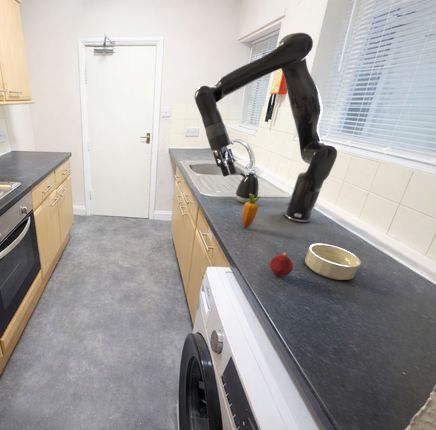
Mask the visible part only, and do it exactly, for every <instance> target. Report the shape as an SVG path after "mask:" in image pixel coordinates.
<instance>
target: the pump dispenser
mask: <svg viewBox="0 0 436 430" xmlns="http://www.w3.org/2000/svg"><path fill="white" fill-rule="evenodd" d="M239 175H240V176H241V177H243V178H241V180H240V182H239V184H238V186H237V188H236V190H235V196H236V200H237V201H238V202H240V203H242V204H245V203H246V202H250V201H249V200H248V199H250V197H249V194H252V195H254V200H255V199H256V198H257V197H258V196H259V192H260V191H259V189H260V186H259V185H260V184H259V183H260V182H259V179H258V176H257V174H256V173H254V172H248V173H247V174H245V173H243V172H240V173H239ZM252 199H253V198H252Z"/></svg>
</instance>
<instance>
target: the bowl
mask: <svg viewBox="0 0 436 430" xmlns="http://www.w3.org/2000/svg"><path fill="white" fill-rule="evenodd" d="M304 263H305V264H306V266H308V268H309V269H310V270H312V271H313V272H314V273H316V274H318V275H320V276H322V277H325V278H327V279H331V280H337V281H345V280H346V281H347V280H348V281H349V280H352V279H354V277H355V275H356V273H357V272H358V270H359V268H360V266H361V264H362V262H361V259H360V258H359V257H358V256H356V255H355V254H354V253H352V252H350V251H348V250H346V249H344V248H342V247H339V246H335V245H331V244H327V243H313V244H310V245H309V247H308V249H307V252H306V254H305V257H304Z"/></svg>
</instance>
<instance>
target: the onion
mask: <svg viewBox="0 0 436 430" xmlns="http://www.w3.org/2000/svg"><path fill="white" fill-rule="evenodd" d="M269 268H270V271H271V272H272V273H273V274H274V275H276V276H277V277H284V276H288V275H289V274H290V273H292V271H293V268H294V264H293V261H292V260H291V258H290V257H289V256H288V253H287V252H283V253H282V254H278V255H276V256H274V257H272V258H271V259H270V262H269Z"/></svg>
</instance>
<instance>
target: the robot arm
mask: <svg viewBox="0 0 436 430" xmlns="http://www.w3.org/2000/svg"><path fill="white" fill-rule="evenodd" d="M313 45H314V40H313V38H312V36H311V35H310V34H308V33H306V32H293V33H289V34H287V35H285V36H284V37H283V38H281V39H280V41H279V42H278V44H277V46H276V48H275V49H273V50H272V51H270V52H269V53H267V54H265V55H264V56H261V57H259V58H258V59H256V60H253V61H251V62H249V63H246V64H244V65H242V66H240V67H238V68H236V69H233V70H232V71H230V72H229V73H227V74H225V75H223V76H222V77H220V78H219V79H218V80H217V82H216V83H215V84H213V85H211V86H208V85H201V86H199V87H198V88H197V89H196V90H195V92H194V102H195V104H196V106H197V109H198V112H199V114H200V117H201V121H202V124H203V127H204V130H205V136H206V139H207V141H208V144H209V148H210V150H211V151H212V155H213V158H214V161H215V164H216V166H217V167H219V168H220V170H221V173H222V177H224V178H225V177H227V176H230V175H234V174H236V173H237V170H236V166H235V163H236V159H235V157H234V153H233V151H232V148H231V147H230V148H228V146H230V145H231V139H230V135H229V133H228V131H227V127H226V125H225V123H224V120H223V118H222V115H221V112H220V110H219V108H218V106H217V105H218V104H217V103H218V102H220V101H221V100H222V99H224V98H225V97H226V96H229V95H231V94H233V93H235V92H237V91H239V90H241V89H242V88H244V87H246V86H248V85H250V84H252V83H254V82H255V81H257V80H259V79H261V78H263V77H265V76H267V75H269V74H272V73H274V72H276V71H278V70H281V72H282V74H283V77H284V81H285V86H286V92H287V97H288V103H289V107H290V111H291V114H292V118H293V121H294V125H295V129H296V132H297V137H298V142H299V143H298V144H299V152H300V157H301V160H302V161H303V162H304V163H305V164H308V168H307V170H306V171H303V172H299V174H298V175H297V178H296V181H295V183H294V187H293V190H292V193H291V196H290V199H289V201H288V205H287V208H286V211H285V213H284V217H285V218H286V219H288V220H290V221H292V222H297V223H309V222H310V220H311V217H312V214H313V211H314V208H315V206H316V203H317V201H318V198H319V196H320V193H321V190H322V189H323V185H324V182H325V181H326V179H327V178H328V177H329V176H330V174H331V172H332V169H333V167H334V165H335V163H336V160H337V157H338V149H337V147H336V146H334V145H332V144H329V143H325V142H322V140H321V137H320V132H319V123H320V121H321V118H322V115H323V103H322V99H321V95H320V91H319V89H318V86H317V85H316V82H315V81H314V79H313V77H312V75H311V73H310V71H309V69H308V64H307V57H308V56H309V55H310V53H311V52H312V49H313V47H314V46H313Z"/></svg>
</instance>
